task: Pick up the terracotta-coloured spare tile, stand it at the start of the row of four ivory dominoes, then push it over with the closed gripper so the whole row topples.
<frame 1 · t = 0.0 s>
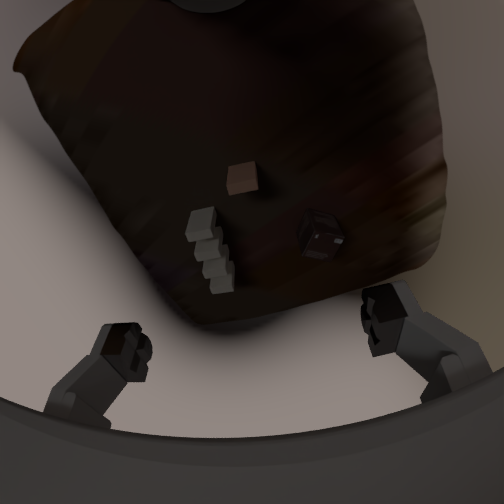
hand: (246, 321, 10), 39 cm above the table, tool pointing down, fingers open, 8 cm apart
domino 4: (217, 249, 58), on the table
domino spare: (242, 168, 47), on the table
domino 3: (211, 231, 55), on the table
domino 5: (223, 265, 61), on the table
box: (314, 222, 54), on the table
domino 2: (204, 212, 52), on the table
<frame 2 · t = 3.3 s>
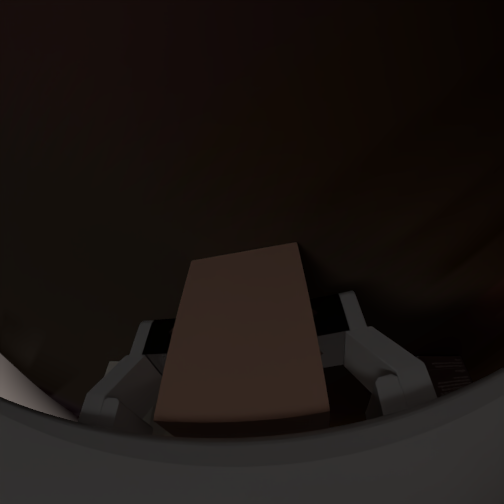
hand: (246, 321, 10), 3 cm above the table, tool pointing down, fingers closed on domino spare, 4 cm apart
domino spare: (247, 268, 12), on the table, touching gripper
box: (417, 373, 19), on the table
domino 2: (141, 368, 17), on the table
when the fingers open (4 cm above the table, at t = 8.2 s): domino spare stays where it is, on the table.
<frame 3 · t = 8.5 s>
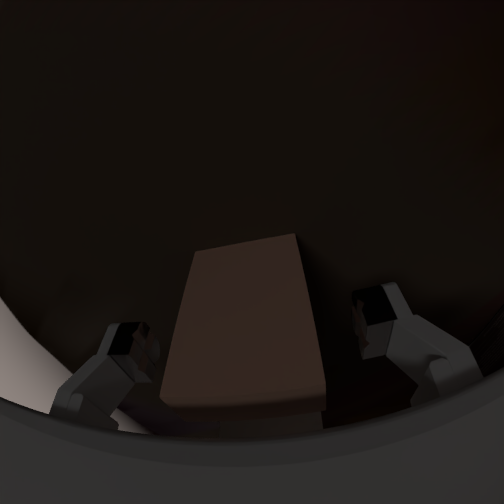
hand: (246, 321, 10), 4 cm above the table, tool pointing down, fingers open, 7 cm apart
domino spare: (248, 259, 13), on the table
box: (496, 327, 17), on the table
domino 2: (269, 335, 16), on the table
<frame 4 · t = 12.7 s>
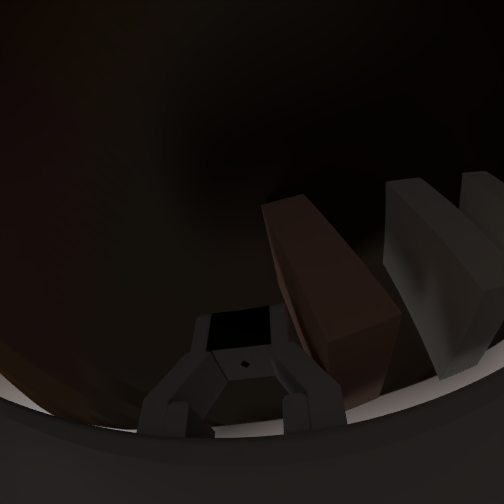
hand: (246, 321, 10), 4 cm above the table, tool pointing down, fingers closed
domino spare: (290, 244, 12), on the table, tilted 10°
domino 3: (469, 210, 11), on the table
domino 2: (401, 222, 12), on the table
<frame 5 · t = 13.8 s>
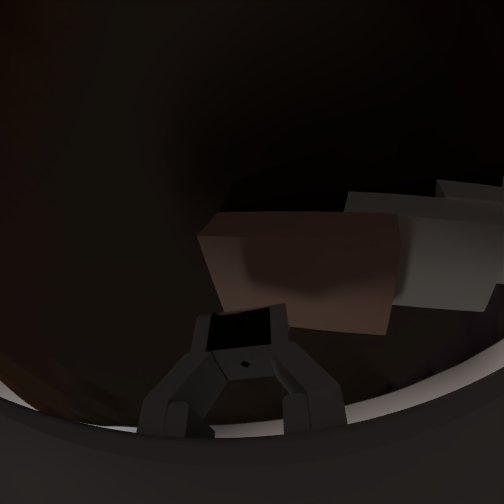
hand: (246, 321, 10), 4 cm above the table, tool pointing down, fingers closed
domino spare: (222, 267, 12), point 1 cm above the table, tilted 70°, touching domino 2
domino 3: (435, 230, 11), point 1 cm above the table, tilted 69°, touching domino 2, domino 4
domino 2: (347, 247, 12), point 1 cm above the table, tilted 67°, touching domino 3, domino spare
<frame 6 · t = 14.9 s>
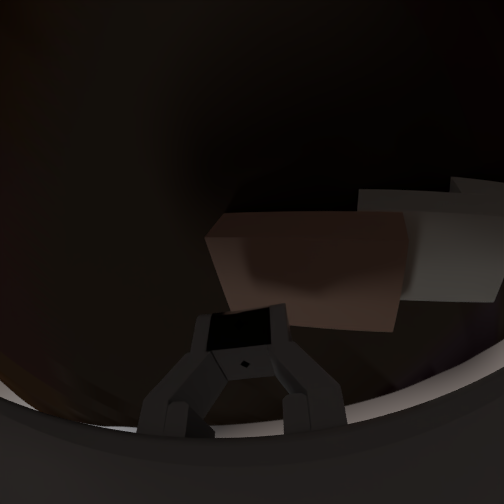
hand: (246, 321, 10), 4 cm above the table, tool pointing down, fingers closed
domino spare: (228, 268, 12), point 1 cm above the table, tilted 71°, touching domino 2
domino 3: (449, 226, 11), point 1 cm above the table, tilted 69°, touching domino 2
domino 2: (359, 245, 11), point 1 cm above the table, tilted 69°, touching domino 3, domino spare
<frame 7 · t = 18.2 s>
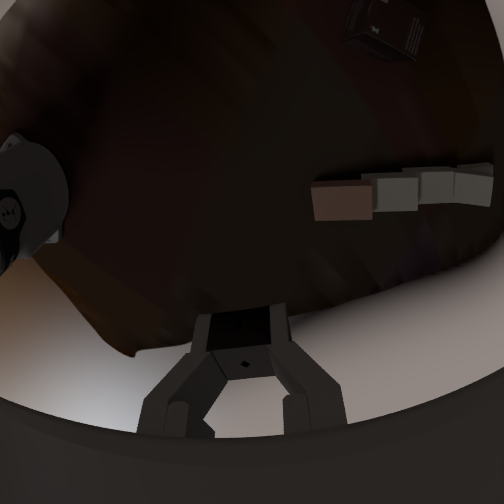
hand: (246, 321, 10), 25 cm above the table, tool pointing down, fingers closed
domino 4: (447, 184, 31), point 1 cm above the table, tilted 61°
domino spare: (313, 201, 33), point 1 cm above the table, tilted 74°, touching domino 2
domino 3: (403, 186, 32), point 1 cm above the table, tilted 75°, touching domino 2
domino 5: (457, 180, 31), on the table, tilted 90°
box: (368, 31, 22), on the table
domino 2: (362, 192, 32), point 1 cm above the table, tilted 72°, touching domino 3, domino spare
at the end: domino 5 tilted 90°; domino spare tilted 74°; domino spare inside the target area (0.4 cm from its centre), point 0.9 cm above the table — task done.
